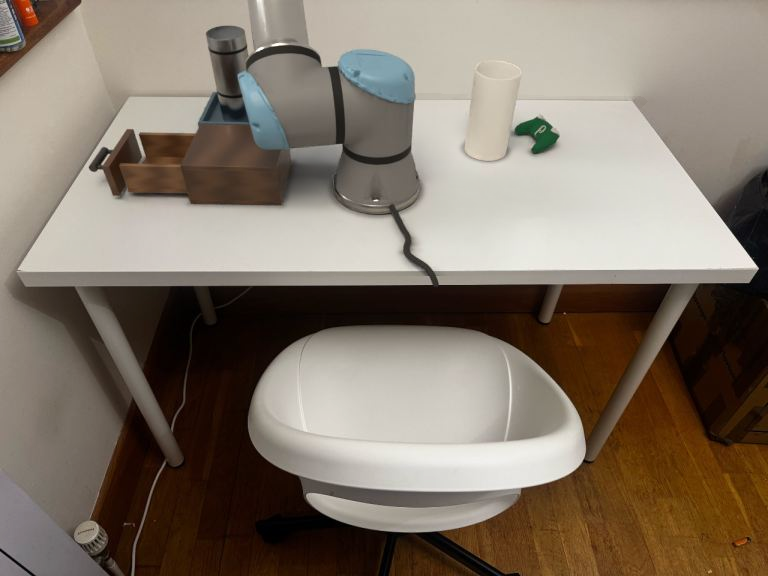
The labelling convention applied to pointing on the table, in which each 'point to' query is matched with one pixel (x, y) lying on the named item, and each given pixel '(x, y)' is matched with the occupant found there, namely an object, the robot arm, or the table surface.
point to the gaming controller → (539, 132)
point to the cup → (492, 109)
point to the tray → (215, 113)
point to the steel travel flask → (228, 69)
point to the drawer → (145, 163)
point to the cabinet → (233, 168)
